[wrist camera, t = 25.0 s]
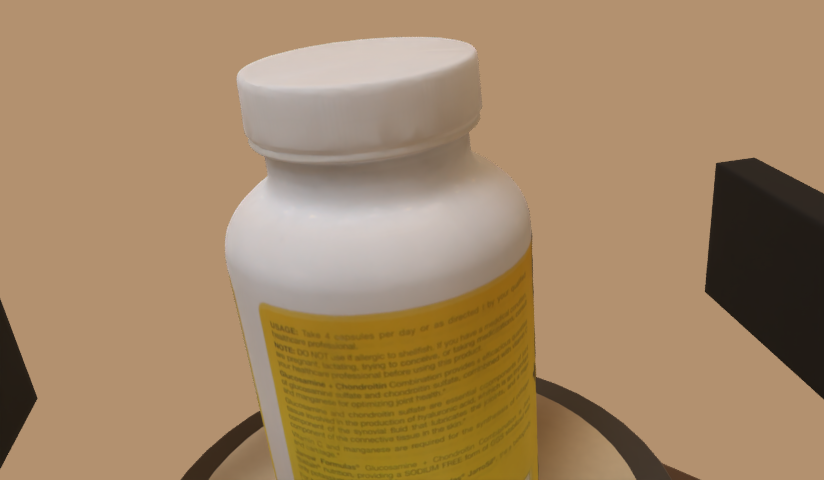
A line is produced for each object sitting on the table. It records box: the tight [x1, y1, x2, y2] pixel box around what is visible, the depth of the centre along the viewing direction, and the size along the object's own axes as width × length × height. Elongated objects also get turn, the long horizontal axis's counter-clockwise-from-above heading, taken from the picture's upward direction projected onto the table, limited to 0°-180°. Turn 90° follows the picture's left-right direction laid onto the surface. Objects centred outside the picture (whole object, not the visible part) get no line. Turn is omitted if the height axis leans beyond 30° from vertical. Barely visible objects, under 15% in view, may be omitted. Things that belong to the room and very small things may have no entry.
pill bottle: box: [225, 37, 539, 480], centre depth 16 cm, size 6×6×12 cm
